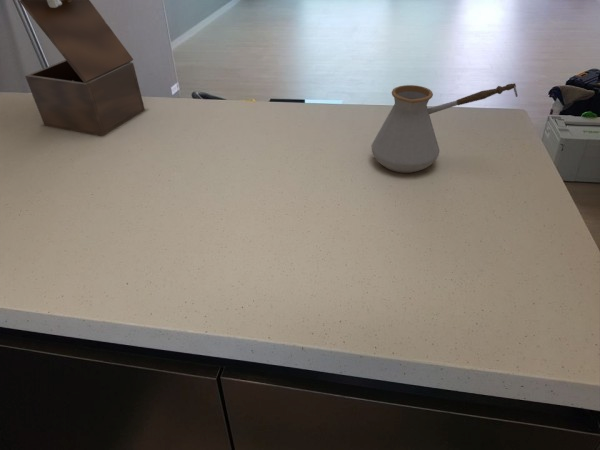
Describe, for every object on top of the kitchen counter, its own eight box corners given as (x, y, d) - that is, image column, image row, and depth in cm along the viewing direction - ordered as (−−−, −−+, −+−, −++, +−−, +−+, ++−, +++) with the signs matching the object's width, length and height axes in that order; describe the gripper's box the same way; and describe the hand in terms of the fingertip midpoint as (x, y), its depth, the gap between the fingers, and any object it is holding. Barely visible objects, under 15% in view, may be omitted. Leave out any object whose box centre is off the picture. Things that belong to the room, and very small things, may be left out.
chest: (44, 126, 96) (24, 75, 90) (90, 102, 106) (75, 55, 100) (102, 137, 91) (86, 84, 85) (145, 111, 101) (133, 62, 95)
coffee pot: (367, 177, 77) (373, 90, 68) (373, 145, 86) (379, 65, 76) (501, 188, 73) (527, 98, 64) (492, 154, 82) (514, 71, 73)
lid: (19, 1, 79) (30, -17, 76) (76, -14, 89) (88, -30, 86) (84, 83, 85) (97, 70, 82) (131, 61, 95) (145, 48, 91)
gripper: (72, -92, 84) (95, -9, 92) (-28, -83, 69) (11, 14, 78) (99, -93, 82) (120, -8, 90) (2, -84, 67) (38, 16, 75)
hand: (69, 3), depth 84 cm, fingers closed on lid, 5 cm apart
